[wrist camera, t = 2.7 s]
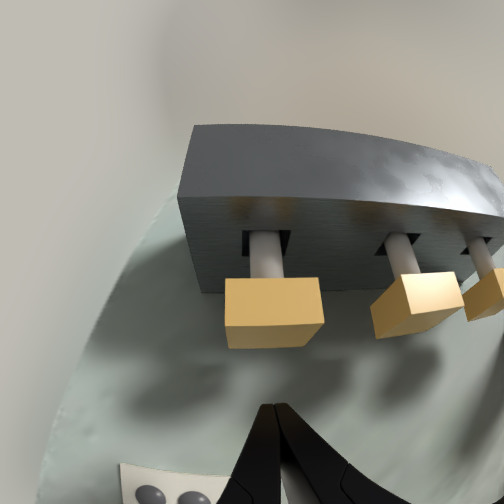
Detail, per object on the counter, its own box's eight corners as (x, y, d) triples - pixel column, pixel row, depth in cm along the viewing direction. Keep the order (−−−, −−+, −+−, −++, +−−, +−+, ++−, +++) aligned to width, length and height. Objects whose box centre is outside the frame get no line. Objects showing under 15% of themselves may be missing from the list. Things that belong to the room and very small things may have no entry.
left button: (303, 346, 13) (324, 322, 10) (228, 348, 13) (224, 325, 10) (290, 228, 17) (300, 185, 14) (230, 228, 17) (228, 183, 14)
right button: (495, 314, 14) (527, 291, 11) (467, 321, 14) (503, 297, 11) (465, 234, 18) (488, 206, 15) (437, 233, 18) (461, 201, 15)
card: (274, 527, 10) (275, 530, 10) (126, 515, 10) (123, 517, 9) (273, 474, 12) (274, 476, 12) (122, 462, 12) (119, 463, 12)
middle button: (426, 330, 14) (464, 305, 11) (376, 339, 14) (411, 314, 10) (396, 231, 18) (420, 195, 15) (351, 230, 18) (370, 189, 14)
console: (463, 281, 20) (524, 221, 12) (201, 292, 19) (176, 197, 11) (444, 231, 24) (490, 166, 16) (206, 225, 22) (194, 125, 15)
